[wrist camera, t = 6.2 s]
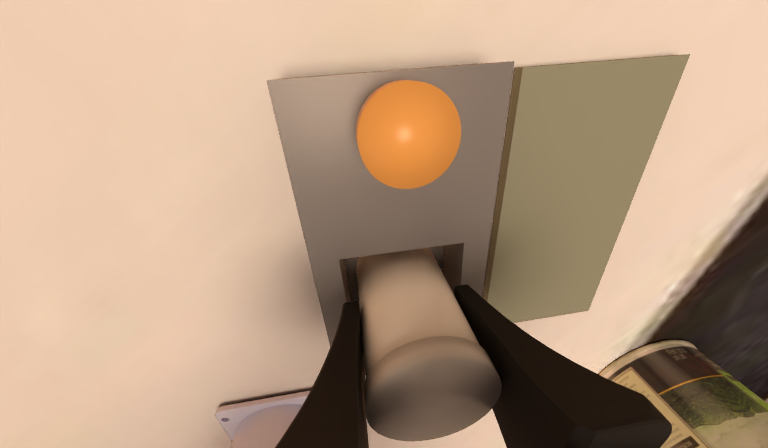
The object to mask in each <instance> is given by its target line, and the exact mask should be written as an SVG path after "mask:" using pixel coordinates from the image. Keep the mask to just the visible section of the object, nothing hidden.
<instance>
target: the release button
mask: <svg viewBox="0 0 768 448" xmlns="http://www.w3.org/2000/svg"><path fill="white" fill-rule="evenodd" d="M356 139H357V144H358V148H359V152H360V155H361V158H362V161H363V163H364V165H365V166H366V168H367V169H368V171H369V172H370V173H371V174H372V175H373V176H374V177H375V178H376V179H377V180H379V181H380V182H382V183H384V184H386V185H388V186H391V187H394V188H398V189H413V188H418V187H421V186H424V185H427V184H429V183H431V182H432V181H434V180H436V179H437V178H438V177H440V176H441V175H442V174H443V173H444V172H445V171H446V170H447V169H448V167H449V166H450V165H451V163H452V162H453V160H454V158H455V156H456V154H457V151H458V148H459V144H460V139H461V123H460V118H459V114H458V112H457V109H456V107H455V105H454V103H453V102H452V100H451V99H450V98H449V97H448V96H447V95H446V94H445V93H444V92H443V91H442V90H440V89H439V88H438V87H436V86H434V85H431V84H429V83H425V82H420V81H412V80H397V81H392V82H389V83H387V84H384V85H382V86H381V87H379V88H378V89H376V90H375V91H374V92H373V93H372V94H371V95H370V96H369V97H368V98H367V99H366V101H365V102H364V104H363V105H362V107H361V109H360V112H359V115H358V118H357V122H356Z"/></svg>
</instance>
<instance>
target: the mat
mask: <svg viewBox="0 0 768 448" xmlns="http://www.w3.org/2000/svg"><path fill="white" fill-rule="evenodd" d="M689 56H690V54H688V55H671V56H659V57H646V58H633V59H620V60H608V61H595V62H582V63H570V64H557V65H544V66H532V67H519V68H515V70H514V77H513V84H512V91H511V99H510V106H509V113H508V120H507V127H506V134H505V141H504V149H503V156H502V163H501V170H500V177H499V184H498V191H497V199H496V206H495V213H494V220H493V227H492V234H491V242H490V249H489V256H488V263H487V270H486V277H485V284H484V292H483V298H484V299H485V300H486V301H487V302H488V303H489V304H490V305H492V306H493V307H494V308H495V309H496V310H498V311H499V312H500V313H501V314H502V315H504V316H505V317H506V318H507V319H509V320H510V321H511V322H512V323H516V322H522V321H528V320H534V319H540V318H547V317H553V316H559V315H565V314H571V313H577V312H583V311H588V310H589V308H590V305H591V303H592V300H593V298H594V295H595V293H596V290H597V288H598V285H599V283H600V280H601V278H602V275H603V273H604V270H605V267H606V265H607V262H608V260H609V257H610V255H611V252H612V250H613V247H614V245H615V242H616V240H617V237H618V235H619V232H620V230H621V227H622V225H623V222H624V220H625V217H626V215H627V212H628V210H629V207H630V204H631V202H632V199H633V197H634V194H635V192H636V189H637V187H638V184H639V182H640V179H641V177H642V174H643V172H644V169H645V167H646V164H647V162H648V159H649V157H650V154H651V152H652V149H653V147H654V144H655V142H656V139H657V136H658V134H659V131H660V129H661V126H662V124H663V121H664V119H665V116H666V114H667V111H668V109H669V106H670V104H671V101H672V99H673V96H674V94H675V91H676V89H677V86H678V84H679V81H680V79H681V76H682V74H683V71H684V68H685V66H686V63H687V61H688V58H689Z"/></svg>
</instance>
